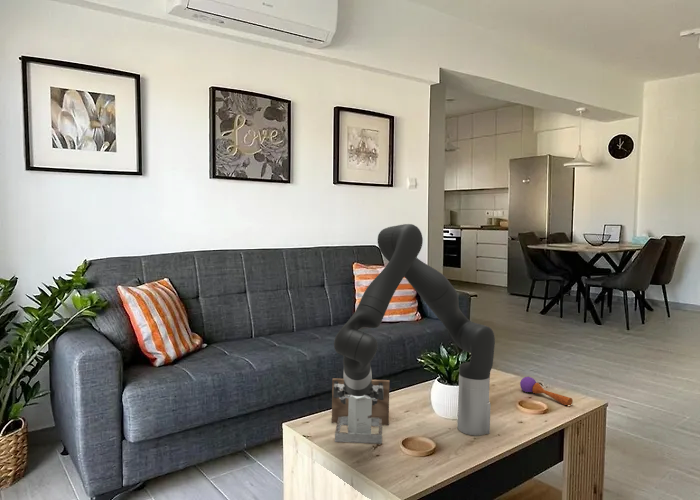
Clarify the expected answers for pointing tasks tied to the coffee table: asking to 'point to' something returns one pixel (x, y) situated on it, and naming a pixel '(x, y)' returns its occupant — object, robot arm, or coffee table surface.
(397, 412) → the coffee table surface
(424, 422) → the coffee table surface
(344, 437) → the grey rectangular frame
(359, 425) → the skincare box
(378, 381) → the wall board
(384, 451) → the coffee table surface
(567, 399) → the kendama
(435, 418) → the coffee table surface
